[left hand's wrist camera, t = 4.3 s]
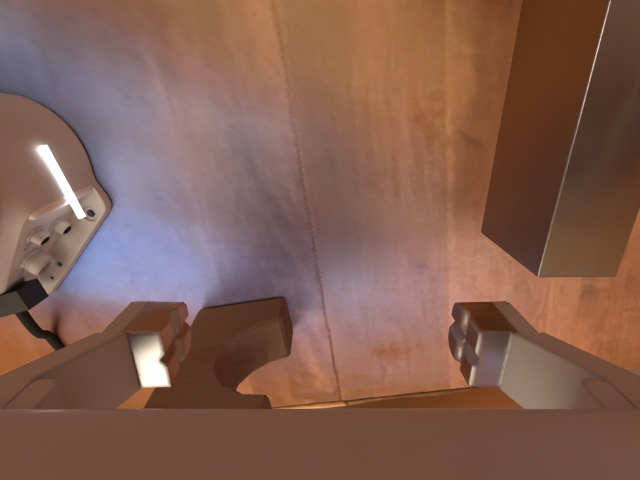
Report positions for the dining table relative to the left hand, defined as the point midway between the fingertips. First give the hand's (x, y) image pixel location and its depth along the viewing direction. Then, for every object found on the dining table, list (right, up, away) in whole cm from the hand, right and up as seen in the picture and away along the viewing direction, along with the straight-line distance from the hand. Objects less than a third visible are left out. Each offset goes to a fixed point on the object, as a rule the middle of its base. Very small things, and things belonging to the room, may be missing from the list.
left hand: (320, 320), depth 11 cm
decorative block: (-9, -8, +33) cm, 35 cm away
